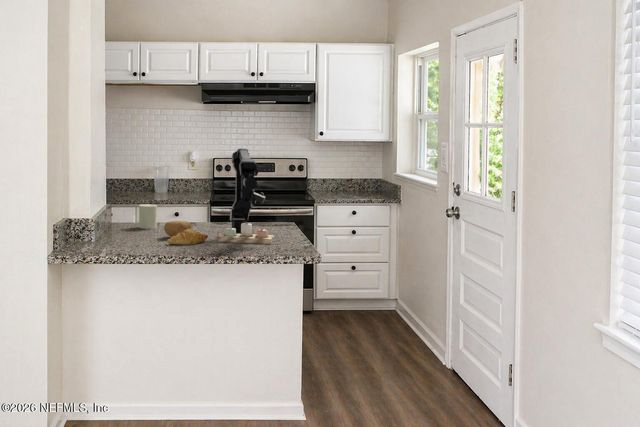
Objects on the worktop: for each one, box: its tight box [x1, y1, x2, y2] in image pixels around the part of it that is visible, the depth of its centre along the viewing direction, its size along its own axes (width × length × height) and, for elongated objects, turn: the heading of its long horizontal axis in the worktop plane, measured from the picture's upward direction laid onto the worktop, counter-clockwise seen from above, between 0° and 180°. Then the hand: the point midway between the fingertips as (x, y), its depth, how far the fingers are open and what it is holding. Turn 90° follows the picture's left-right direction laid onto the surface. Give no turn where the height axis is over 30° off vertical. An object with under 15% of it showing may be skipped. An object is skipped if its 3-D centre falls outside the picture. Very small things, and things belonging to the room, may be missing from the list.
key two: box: [241, 222, 253, 236], centre depth 380 cm, size 5×5×6 cm
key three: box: [256, 228, 268, 238], centre depth 380 cm, size 5×5×6 cm
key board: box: [217, 232, 275, 245], centre depth 380 cm, size 25×11×2 cm, turn 87°
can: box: [138, 203, 158, 230], centre depth 411 cm, size 9×9×12 cm
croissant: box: [166, 228, 209, 246], centre depth 369 cm, size 21×10×8 cm
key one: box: [224, 227, 237, 237], centre depth 381 cm, size 5×5×6 cm
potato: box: [163, 220, 192, 238], centre depth 384 cm, size 10×14×8 cm
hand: (246, 220), depth 379 cm, fingers closed
